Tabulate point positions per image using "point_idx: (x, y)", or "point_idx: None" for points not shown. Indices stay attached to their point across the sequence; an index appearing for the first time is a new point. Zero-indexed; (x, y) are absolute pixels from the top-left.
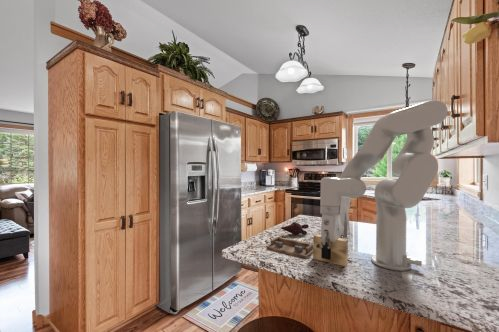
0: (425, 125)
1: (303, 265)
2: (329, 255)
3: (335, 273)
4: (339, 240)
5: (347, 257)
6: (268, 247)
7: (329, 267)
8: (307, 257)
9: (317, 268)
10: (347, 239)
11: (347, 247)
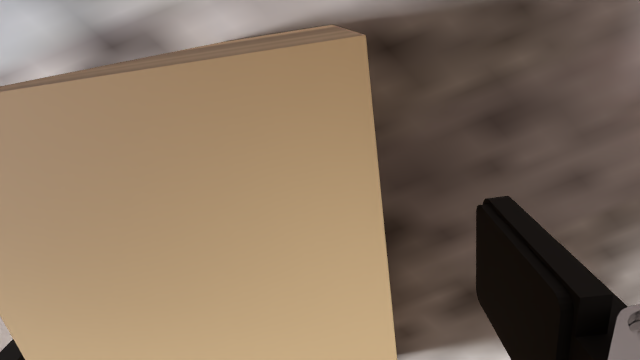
0: None
1: None
2: (531, 233)
3: (635, 34)
4: (388, 331)
5: (208, 45)
6: None
7: (497, 157)
8: None
9: (601, 233)
10: None
11: (148, 57)
